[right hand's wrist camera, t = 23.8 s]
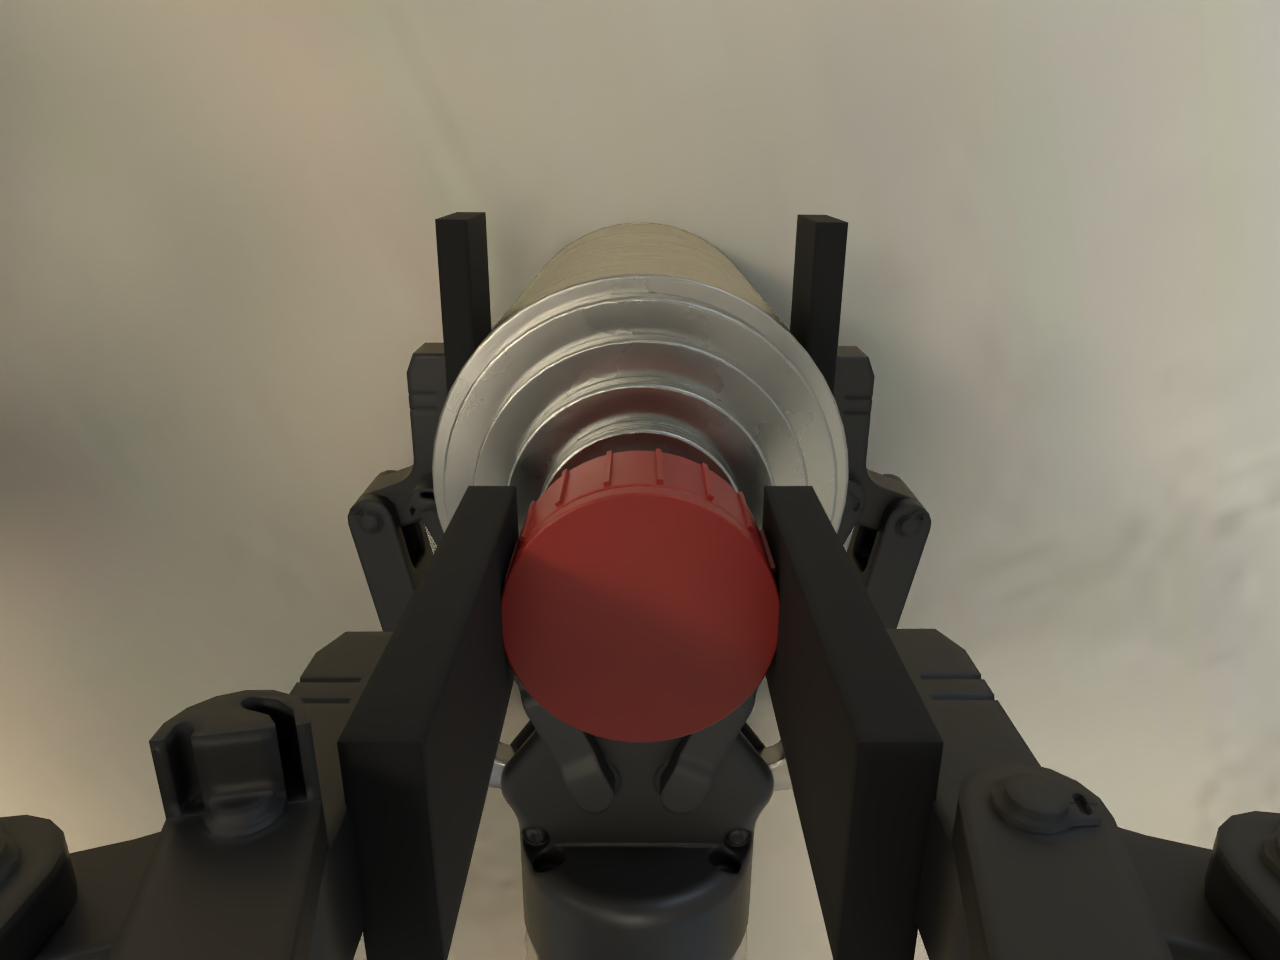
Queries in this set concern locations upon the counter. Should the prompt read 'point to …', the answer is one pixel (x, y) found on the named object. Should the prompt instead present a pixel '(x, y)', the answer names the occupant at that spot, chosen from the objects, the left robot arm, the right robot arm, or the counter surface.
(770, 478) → the bottle
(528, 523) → the cap
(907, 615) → the counter surface
